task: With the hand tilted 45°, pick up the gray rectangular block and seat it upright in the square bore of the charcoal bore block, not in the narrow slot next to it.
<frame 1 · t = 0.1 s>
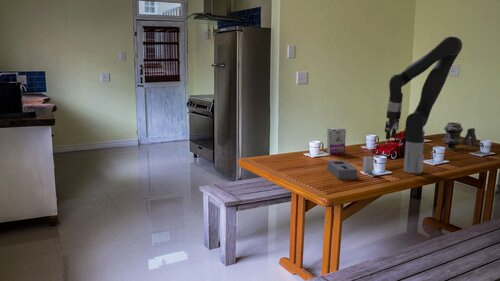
hand: (390, 138, 239), 17 cm above the table, tool pointing down, fingers open, 8 cm apart
gray rectangular block: (367, 173, 231), on the table
candy bar box: (335, 153, 280), on the table
dark grey arch: (469, 145, 307), on the table
bore block: (341, 173, 230), on the table
dark grey tall lump: (451, 148, 293), on the table
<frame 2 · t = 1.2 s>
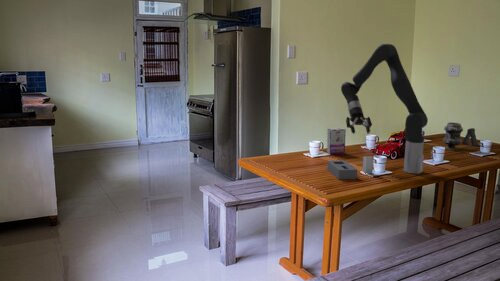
hand: (361, 132, 239), 20 cm above the table, tool tilted 45°, fingers open, 8 cm apart
nothing on the table moved.
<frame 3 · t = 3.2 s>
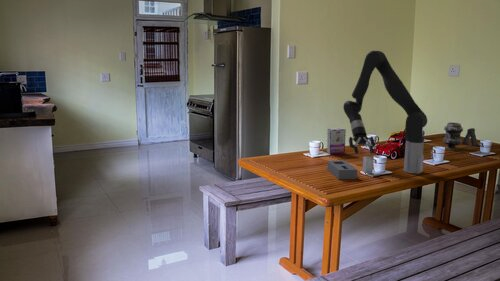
hand: (364, 153, 235), 10 cm above the table, tool tilted 45°, fingers open, 8 cm apart
nothing on the table moved.
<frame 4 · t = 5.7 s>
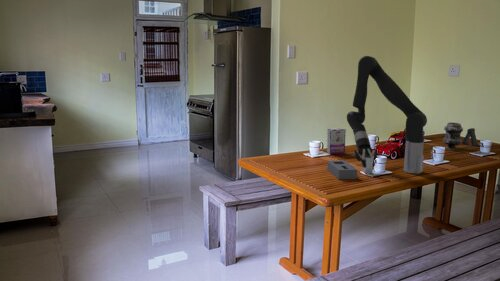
hand: (369, 166, 229), 4 cm above the table, tool tilted 45°, fingers closed on gray rectangular block, 4 cm apart
gray rectangular block: (367, 173, 231), on the table, touching gripper
everything else where it was.
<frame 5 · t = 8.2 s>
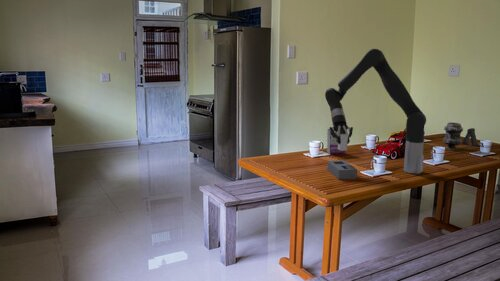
hand: (343, 143, 230), 16 cm above the table, tool tilted 45°, fingers closed on gray rectangular block, 4 cm apart
gray rectangular block: (342, 149, 232), point 12 cm above the table, touching gripper
everything else where it was.
when the fingers open (6 cm above the table, at t = 11.2 s): gray rectangular block drops 1 cm, resting on bore block.
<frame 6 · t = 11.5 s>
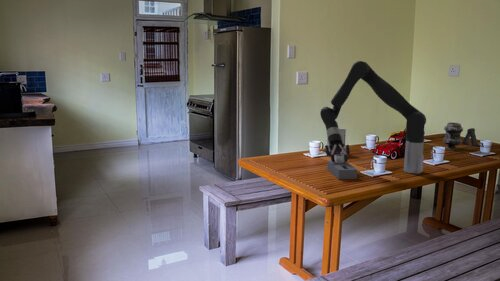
hand: (340, 161, 232), 6 cm above the table, tool tilted 45°, fingers open, 6 cm apart
gray rectangular block: (338, 170, 235), resting on bore block
everything else where it was.
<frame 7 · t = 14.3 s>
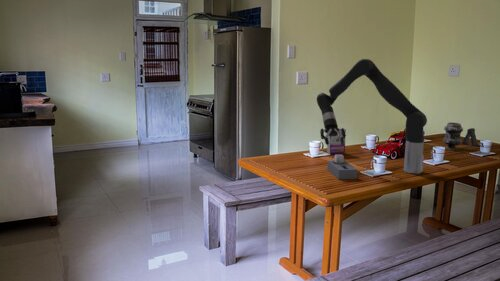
hand: (335, 144, 240), 14 cm above the table, tool tilted 45°, fingers open, 8 cm apart
nothing on the table moved.
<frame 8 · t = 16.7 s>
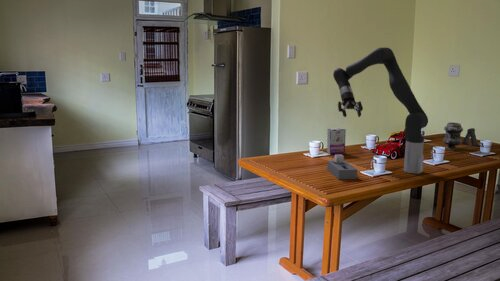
hand: (352, 116, 246), 29 cm above the table, tool tilted 45°, fingers open, 8 cm apart
nothing on the table moved.
at the end: gray rectangular block 0.1 cm from the target spot, resting on bore block; gray rectangular block tilted 0°; the gripper is holding nothing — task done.
